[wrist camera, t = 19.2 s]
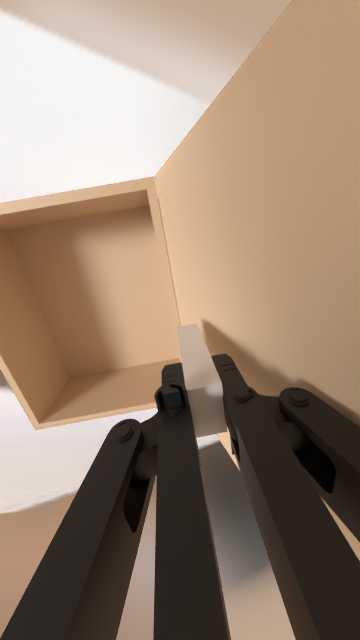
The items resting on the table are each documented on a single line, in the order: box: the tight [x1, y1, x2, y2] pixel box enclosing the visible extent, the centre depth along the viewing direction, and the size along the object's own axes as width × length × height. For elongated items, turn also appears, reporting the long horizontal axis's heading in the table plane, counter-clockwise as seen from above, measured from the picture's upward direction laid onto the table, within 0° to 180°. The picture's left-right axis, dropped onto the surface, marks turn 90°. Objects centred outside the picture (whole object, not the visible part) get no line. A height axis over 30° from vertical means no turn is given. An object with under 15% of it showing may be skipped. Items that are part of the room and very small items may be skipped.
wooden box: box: [0, 177, 182, 430], centre depth 26 cm, size 24×20×10 cm
